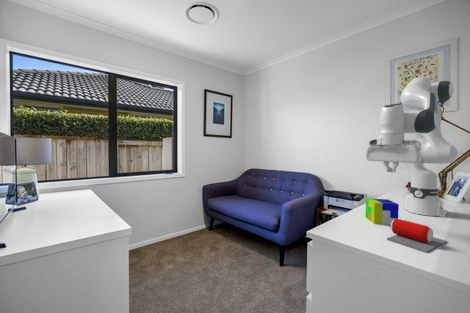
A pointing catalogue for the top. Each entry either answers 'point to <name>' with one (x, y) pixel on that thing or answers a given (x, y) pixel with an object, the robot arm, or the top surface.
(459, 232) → the top surface
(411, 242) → the mat
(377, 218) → the puzzle toy
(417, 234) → the beverage can
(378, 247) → the top surface
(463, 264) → the top surface
